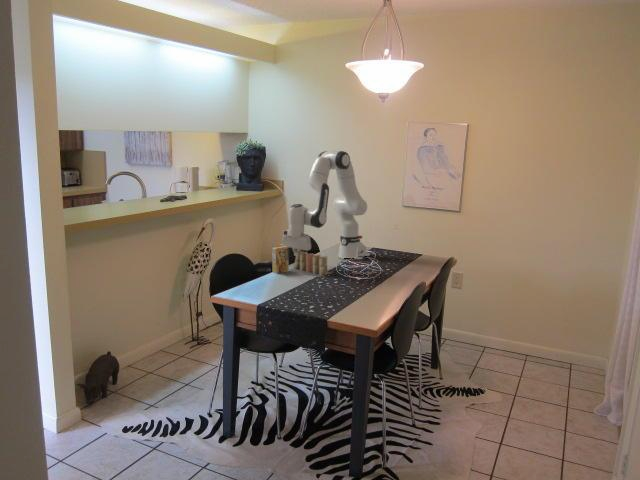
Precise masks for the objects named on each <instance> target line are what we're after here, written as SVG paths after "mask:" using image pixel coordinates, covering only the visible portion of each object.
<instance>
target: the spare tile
mask: <svg viewBox="0 0 640 480" xmlns="http://www.w3.org/2000/svg"><path fill="white" fill-rule="evenodd" d="M313 256H315V253H308V254H307V255H306V272H311V271H313Z"/></svg>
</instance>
